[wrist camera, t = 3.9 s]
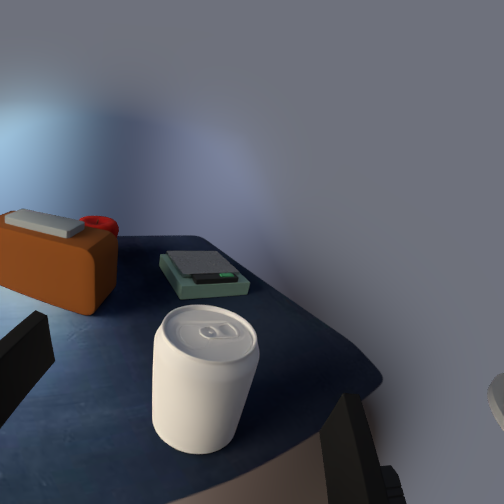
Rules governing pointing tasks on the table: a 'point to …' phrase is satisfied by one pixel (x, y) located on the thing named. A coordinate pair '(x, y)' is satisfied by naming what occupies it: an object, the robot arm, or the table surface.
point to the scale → (203, 282)
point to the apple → (101, 223)
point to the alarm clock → (57, 260)
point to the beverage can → (201, 376)
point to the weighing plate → (200, 263)
